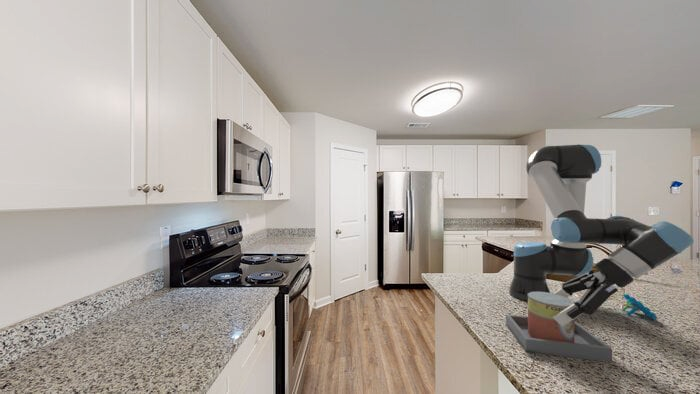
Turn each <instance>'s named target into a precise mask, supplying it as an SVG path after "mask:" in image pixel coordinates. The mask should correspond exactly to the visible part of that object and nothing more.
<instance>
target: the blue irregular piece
mask: <svg viewBox="0 0 700 394" xmlns="http://www.w3.org/2000/svg"><path fill="white" fill-rule="evenodd" d="M622 296H623V298H624V299H625V300H626V301H625V306H624V307H623V308H622V309H621V310H622V312H624V311H626V310H628V308H629V309H630V310H629V311H627V312H626V315H627V316H631V315H632V314H634V313H635V312H639V311H640V312H642V313H643V314H644V315H645V316H647V317H649V318H651V319H654V320H658V317H657V314H656V313H654V312H653V311H651V309H650V308H649V307H648V306H645V305H644V304H643V303H642V302H641V301H640V300H639V301H638V300H637V299H636V298H635V297H634V296H630V295H629V294H627V293H626V294H625V293H624V294H622Z"/></svg>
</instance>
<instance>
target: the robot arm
mask: <svg viewBox="0 0 700 394" xmlns="http://www.w3.org/2000/svg"><path fill="white" fill-rule="evenodd" d="M601 167H602V156H601V153H600V152H599V150H598V149H597V147H595V146H594V145H591V144H579V143H578V144H568V145H567V144H565V145H546V146H543V147H540V148H539V149H537V150H535V151H534V152H533V153H531V155H530V156H529V157H528V160H527V162H526V167H525V168H526V173H527V174H528V178H529V179H531V180H532V181H535V184H536V186H537V187H538V190H539V192H540V194H541V196H542V197H543V199H544V201H545V203H546V205H547V207H548V209H549V211H550V213H551V215H552V216H553V220H552V221H551V223H550V230H551V235H552V237H553V239H551V240H550V245H547V244H546V243H545V242H543V241H542V242H540V241H524V242H519V243H517V244H515V246H514V248H513V278H512V280H511V283H510V285H509V288H508V289H509V290H508V293H509V295H510V296H512V297H514V298H516V299H518V300H521V301H525V302H528V293H529V292H535V291H539V292H549V293H551V291H550V288H549V286H548V285H549V284H548V283H547V275H559V276H560V275H561V276H562V275H563V276H571V277H573V278H572V279H569V280H567V281H565V282H562V283H561V288H559V289H558V290H556V291H555V292H553V293H554V294H558V295H562V296H565V297H567V298H569V297H572V296H573V294H575V293H578V292H581V291H585V292H584V293H583V295H582V296H581V297H580V299H579V300H578V301H574V304H572V305H571V306H569V307H568V308H566V309H564V310H563V311H561V312H560V313H558V314H557V315H555V316H553V318H554V319H555V320H556V321H557V322H558V323H559V324H560V325H561V326H564V325H565V324H567V323H569V322H570V321H572V320H574V321H575V319H577V318H578V317H580V316H582V315H583V314H585V315H586V314H588V315H589V316H591V315H593V314H594V313H595V312H596V311H597V310H598V309H599V308H600V307H601V306H602V305H603V304H604V303H605V302H606V301H607V300H608V299H609V298H610V297H612V295H614V294H615V293H617V292H618V291H619V289H618V288H621V289H623V288H625V287H626V286H629V284H631V283H633V282H634V279H639V278H641V277H643V276H647V275H648V274H649V272H650V271H652V270H654V269H655V268H657V267H659V266H661V265H662V264H664V263H665V262H667V261H669V260H671V259H673V257H675V256H677V255H679V254H680V255H681V254H682V252H684V251H685V250H687V248H689V247H690V246H692V245H693V244H694V242H695V241H694V238H693V237H692V235H690V234H689V233H688V232H686V231H685V230H683V228H681V227H679V226H677V225H676V224H673V223H671V222H668V221H666V220H665V221H664V220H663V221H659V222H657V223H654V224H652V225H647V224H644V223H642V222H640V221H638V220H635V219H633V218H630V217H627V216H622V215H613V216H610V217H607V218H587V216H586V215H585V205H586V192H587V182H589V181H591V180H592V177H593V175H594V174H596V173H598V172H599V171H600V168H601ZM587 244H597V245H600V244H601V245H621V246H620V247H619V248H617V249H616V250H614V251H613V252H611V253H610V254H608V255H607V258H602V259H601V260H600V261H598V262H596V263H595V264H594V257H593V253H592V252H591V250H590V249H589V248H587ZM593 266H594V268H595V269H596V270H598V271H596V272H595V271H594V270H592V269H593ZM575 276H576V277H575ZM615 285H616V286H617V287H618V288H617V287H616V286H615Z"/></svg>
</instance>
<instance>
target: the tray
mask: <svg viewBox="0 0 700 394" xmlns="http://www.w3.org/2000/svg"><path fill="white" fill-rule="evenodd" d="M505 325H506V327H507V328H508V330H509V331H510V332H511V334H512V335H513V336H514V338H515V339H516V341H517V342H518V343H519V345H520V346H521V347H522V349H523V350H524V351H525V352H527V353H534V354H543V355H551V356H558V357H566V358H572V359H573V358H575V359H582V360H590V361H591V360H592V361H599V362H604V363H605V362H606V363H613V348H611V347H610V346H609V345H608V344H607V343H605V342H604V341H603V340H601V339H600V338H598V337H597V336H596V335H594V333H592V332H591V331H589V330H587V329H586V328H585V327H584V326H582V325H581V324H579V322H577V321H576V320H574V343H571V342H562V341H553V340H544V339H535V338H531V337H530V336H529V335H528V315H527V316H524V315H514V314H507V313H506V314H505Z"/></svg>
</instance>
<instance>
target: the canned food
mask: <svg viewBox="0 0 700 394" xmlns="http://www.w3.org/2000/svg"><path fill="white" fill-rule="evenodd" d="M554 293H555V292H550V293H549V292H539V291H535V292H529V293H528V301H527V316H528V335H529V336H530V337H531V338H535V339H544V340H553V341H562V342H571V343H574V321H575V319H574V320H572V321H570V322H569V323H567V324H565V325H564V326H561V325H560V324H559V323H558V322H557V321H556V320H555V319H554V318H553V316H555V315H557V314H558V313H560V312H561V311H563V310H564V309H566V308H568V307H569V306H571V305H572V304H574V302H575V301H574V300H573V299H572V298H569V297H565V296H562V295H558V294H554Z"/></svg>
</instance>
